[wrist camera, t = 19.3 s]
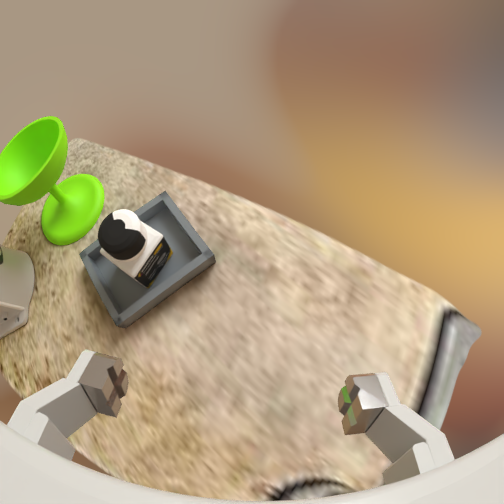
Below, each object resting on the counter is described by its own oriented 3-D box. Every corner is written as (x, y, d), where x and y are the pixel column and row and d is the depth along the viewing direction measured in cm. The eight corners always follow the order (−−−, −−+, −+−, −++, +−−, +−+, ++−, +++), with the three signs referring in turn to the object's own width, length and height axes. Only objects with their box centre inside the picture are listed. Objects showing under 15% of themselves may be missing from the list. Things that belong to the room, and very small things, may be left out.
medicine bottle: (149, 290, 40) (119, 267, 29) (116, 266, 41) (82, 237, 30) (174, 252, 43) (154, 218, 31) (141, 231, 44) (115, 194, 32)
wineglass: (81, 255, 42) (21, 209, 25) (31, 233, 43) (-22, 191, 26) (118, 181, 48) (81, 116, 31) (65, 170, 49) (27, 116, 32)
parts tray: (125, 328, 39) (116, 326, 35) (88, 260, 42) (79, 253, 39) (215, 261, 43) (214, 254, 40) (169, 201, 47) (165, 190, 43)
